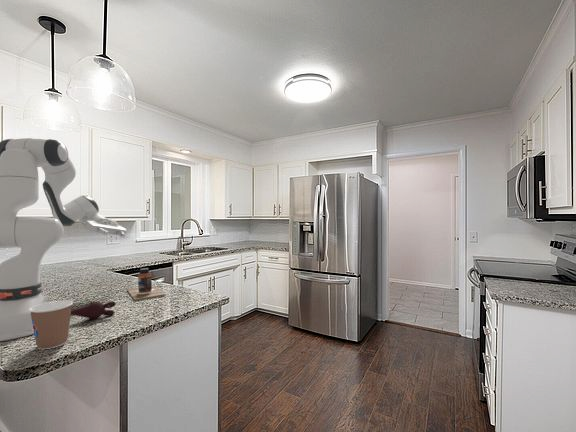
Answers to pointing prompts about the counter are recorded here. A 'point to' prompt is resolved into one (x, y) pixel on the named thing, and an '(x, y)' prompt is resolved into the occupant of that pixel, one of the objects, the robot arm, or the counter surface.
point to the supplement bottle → (144, 280)
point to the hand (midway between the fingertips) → (115, 234)
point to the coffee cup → (51, 323)
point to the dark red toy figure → (94, 310)
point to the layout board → (145, 293)
